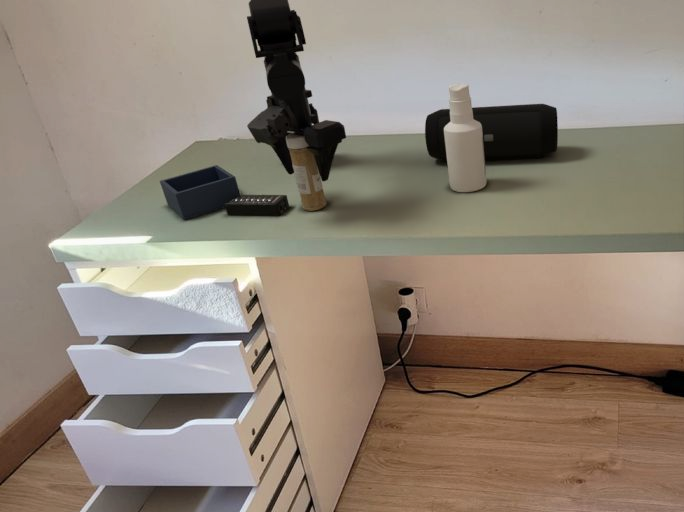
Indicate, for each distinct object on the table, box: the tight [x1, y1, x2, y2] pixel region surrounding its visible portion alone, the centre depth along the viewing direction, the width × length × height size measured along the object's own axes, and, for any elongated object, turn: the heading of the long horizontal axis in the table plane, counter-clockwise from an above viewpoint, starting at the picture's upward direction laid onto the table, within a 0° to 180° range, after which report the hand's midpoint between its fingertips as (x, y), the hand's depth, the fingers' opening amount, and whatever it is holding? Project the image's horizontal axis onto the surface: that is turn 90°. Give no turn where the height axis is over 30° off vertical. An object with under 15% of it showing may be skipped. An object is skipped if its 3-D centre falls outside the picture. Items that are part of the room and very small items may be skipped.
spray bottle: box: [444, 83, 488, 193], centre depth 127 cm, size 7×7×18 cm
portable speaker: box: [424, 103, 559, 162], centre depth 141 cm, size 26×10×10 cm, turn 81°
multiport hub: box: [224, 194, 290, 217], centre depth 131 cm, size 4×11×2 cm, turn 75°
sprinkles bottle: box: [286, 134, 328, 212], centre depth 127 cm, size 5×5×13 cm
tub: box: [159, 164, 241, 221], centre depth 136 cm, size 11×10×5 cm
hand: (307, 177), depth 127 cm, fingers open, 9 cm apart
